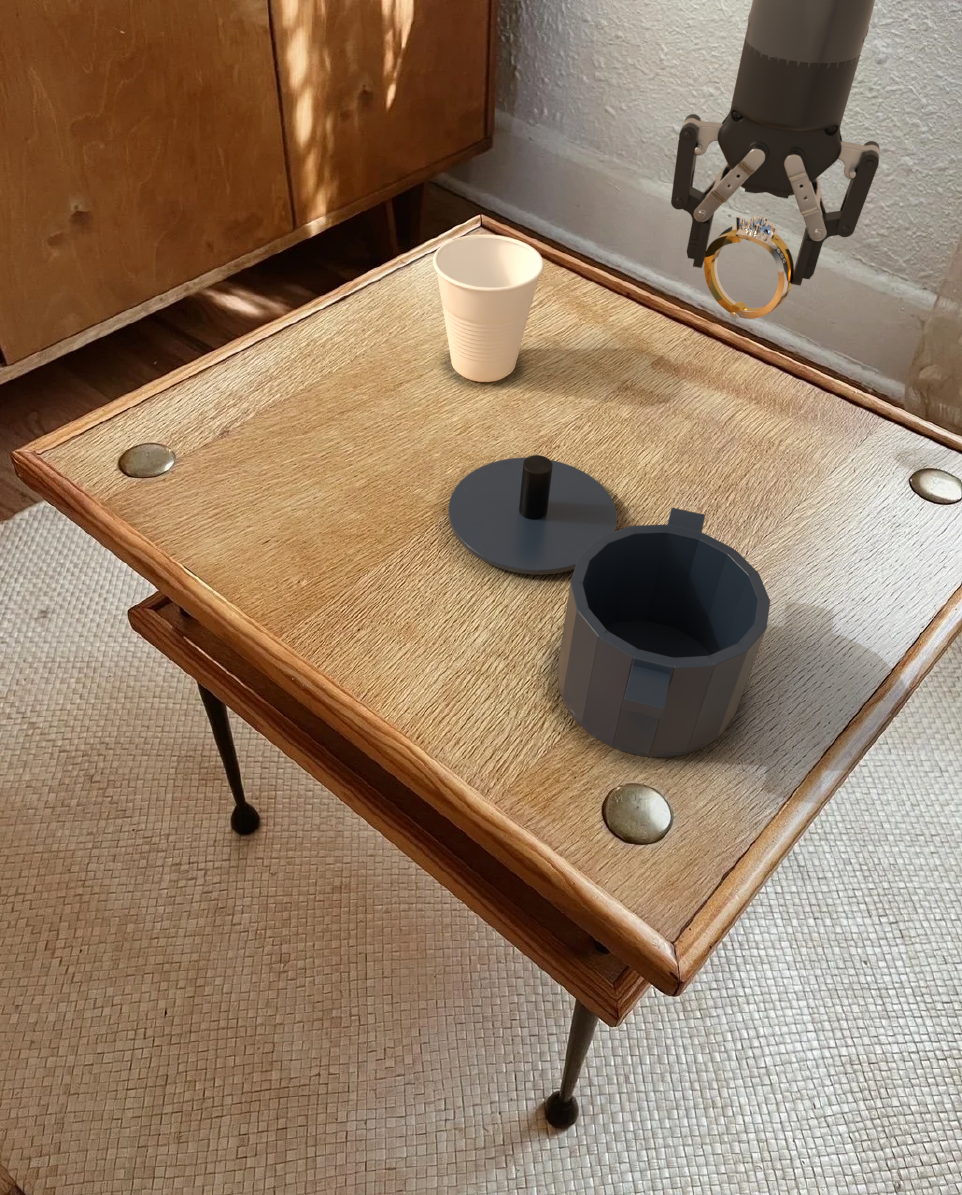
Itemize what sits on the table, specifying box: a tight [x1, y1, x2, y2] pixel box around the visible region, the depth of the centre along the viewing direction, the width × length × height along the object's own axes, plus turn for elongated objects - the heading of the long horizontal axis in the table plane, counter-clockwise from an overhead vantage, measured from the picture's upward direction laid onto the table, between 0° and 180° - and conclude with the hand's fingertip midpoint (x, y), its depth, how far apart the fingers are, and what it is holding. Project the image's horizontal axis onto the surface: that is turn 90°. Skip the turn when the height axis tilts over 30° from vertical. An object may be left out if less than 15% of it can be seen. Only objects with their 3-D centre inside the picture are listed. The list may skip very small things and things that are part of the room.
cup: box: [432, 234, 545, 383], centre depth 95 cm, size 10×10×11 cm
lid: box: [448, 454, 618, 575], centre depth 82 cm, size 14×14×6 cm
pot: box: [556, 507, 771, 758], centre depth 69 cm, size 13×18×10 cm
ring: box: [703, 214, 795, 320], centre depth 79 cm, size 7×3×8 cm, turn 45°
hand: (747, 271), depth 79 cm, fingers closed on ring, 7 cm apart
